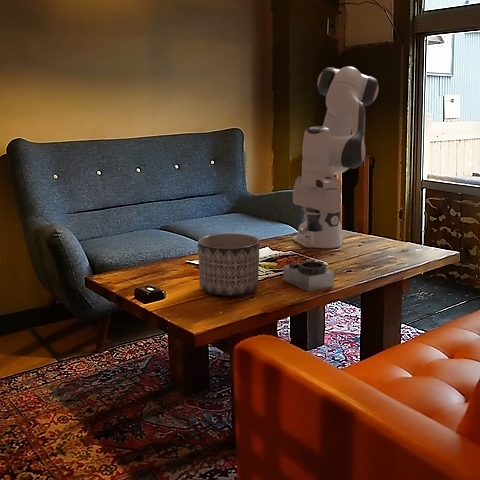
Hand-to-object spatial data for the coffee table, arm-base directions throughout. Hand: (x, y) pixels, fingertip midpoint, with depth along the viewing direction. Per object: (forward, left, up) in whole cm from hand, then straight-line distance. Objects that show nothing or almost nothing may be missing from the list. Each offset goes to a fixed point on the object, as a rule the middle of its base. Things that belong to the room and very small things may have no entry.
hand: (314, 222), depth 198 cm
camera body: (-2, 0, -21) cm, 21 cm away
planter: (-9, -26, -21) cm, 35 cm away
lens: (0, 0, -2) cm, 2 cm away
